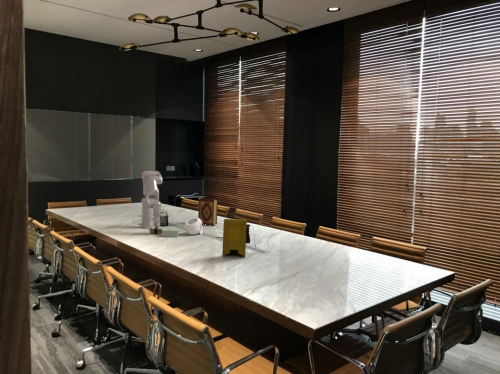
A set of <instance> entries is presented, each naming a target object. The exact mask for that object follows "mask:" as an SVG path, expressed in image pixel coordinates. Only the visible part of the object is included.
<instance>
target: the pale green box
mask: <svg viewBox="0 0 500 374" xmlns="http://www.w3.org/2000/svg"><path fill="white" fill-rule="evenodd" d="M179 236H180V229H179V228H171V227H170V228H163V234H162V238H179Z"/></svg>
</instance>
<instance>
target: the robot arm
mask: <svg viewBox="0 0 500 374" xmlns="http://www.w3.org/2000/svg"><path fill="white" fill-rule="evenodd" d="M141 179H142V183H143V184H142V185H143V187H142V188H143V191H142V192H143V196H145V197H143V198H142V199H141V212H142V213H141V223H139V222H138V223H137V226H140V229H150V228H154V234H155V235H159V234H158V230H157V229H159V226H160V219H161V218H160V217H161V215H162V212H161V211H162V202H161V201H160V190H159V188H158V185H162V184H163V181H164V180H163V177H162V174H161V172H159V171H158V170H144V171H142V173H141ZM152 217H153V219H152ZM154 234H153V235H154Z"/></svg>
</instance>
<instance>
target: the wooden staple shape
mask: <svg viewBox="0 0 500 374" xmlns="http://www.w3.org/2000/svg"><path fill="white" fill-rule="evenodd" d="M148 229H149V234H150V235H154V227H152V228H148ZM157 230H158V234H157V235H163V230H164V228H158V229H157Z"/></svg>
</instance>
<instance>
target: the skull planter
mask: <svg viewBox="0 0 500 374" xmlns="http://www.w3.org/2000/svg"><path fill="white" fill-rule="evenodd" d="M183 227H184V232H185V233H186V234H187V235H189V236H190V235H191V236H195V235H198V234H199V235H203V233H204V231H203V230H204V229H203V228H204V225H202V221H201V220H200V219H199V218H198V216H196V217H191V218H189V219H188V220H186V221H185V223H184V226H183Z"/></svg>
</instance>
